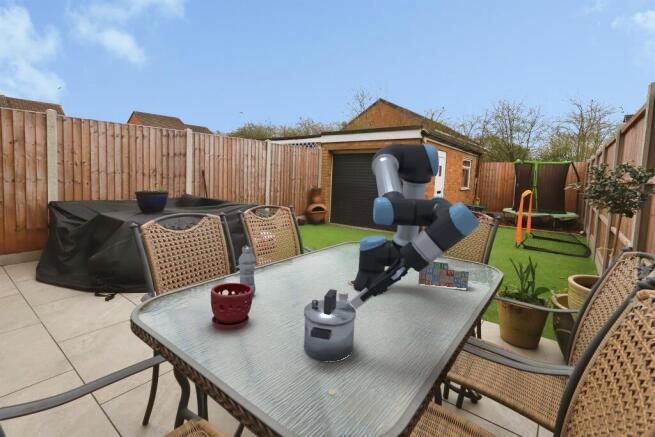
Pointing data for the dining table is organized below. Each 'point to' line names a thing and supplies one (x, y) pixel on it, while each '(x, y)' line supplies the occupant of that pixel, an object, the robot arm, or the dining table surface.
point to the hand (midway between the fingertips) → (353, 304)
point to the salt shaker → (343, 297)
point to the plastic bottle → (247, 267)
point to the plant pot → (231, 305)
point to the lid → (329, 311)
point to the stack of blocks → (444, 275)
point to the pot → (328, 341)
